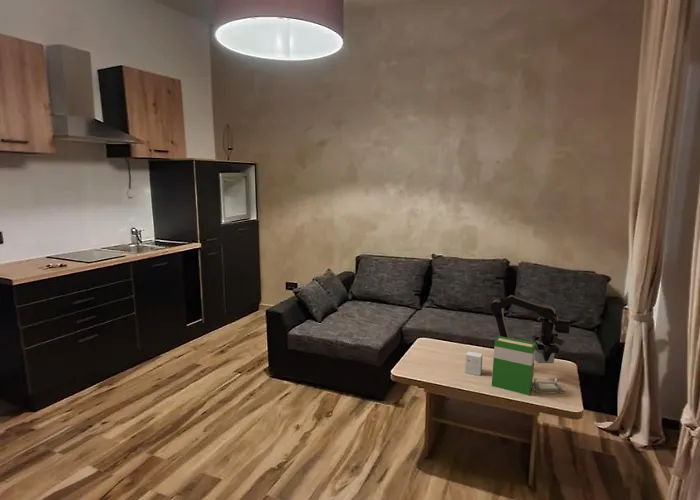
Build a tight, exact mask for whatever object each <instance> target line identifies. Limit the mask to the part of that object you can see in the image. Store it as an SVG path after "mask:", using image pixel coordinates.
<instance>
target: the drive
mask: <svg viewBox="0 0 700 500" xmlns="http://www.w3.org/2000/svg"><path fill="white" fill-rule="evenodd" d="M555 355H556V353H552V354H551V356H550V358H549V360H548V361H547V362H546V361H545V359H544V355H543V351H542V350H538V349H535V357H534V362H536V363H537V364H554V362H555Z"/></svg>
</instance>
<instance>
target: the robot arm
mask: <svg viewBox="0 0 700 500" xmlns="http://www.w3.org/2000/svg"><path fill="white" fill-rule="evenodd" d="M510 305H514V306H517V307H519V308H522V309H525V310H528V311H531V312H534V313H536V314H537V316H539V317H538V318H537V322H540V324H541V325H540V330H539V331H538V334H534V335H532V336H531V337H532V338H531V340H532V341H533V342H534V343H536V346H535V347H536V348H537V350H542V351H543V355H544V359H545V361H546V362H547V361H548V360H549V358H550V356H551V354H552V353H555V354H560V352H561V349H560V348H559V347H558V346H557V345H559V346H560V347H562V346H563V343H564V342H565V339H563V338H562V337H560V336H559V334H565V335H570V330H571V329H570V328H571V326H570V325H571V323H570V322H571V320H567V319H559V316H558V315H557V313H556V310H555V308H554V307H553V306H552V305H549V304H543V303H542V304H540V303H535V302H533V301H530V300H528V299H523V298H521V297H518V296H515V295H513V294H510V295H509V296H506V297H503V298H500V299H494V300H493V301H492V302H491V304H490V306H489V308H490V311H491V312H492V315H493V317H494V318H495V320H496V325H497V329H498V333H499V336H501V337H507V338H510V336H509V332H508V327H507V324H506V321H505V316H504V314H505V313H504V312H505V310H504V309H505V308H506V307H508V306H510ZM554 331H555V332H554ZM556 344H557V345H556Z"/></svg>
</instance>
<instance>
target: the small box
mask: <svg viewBox="0 0 700 500" xmlns="http://www.w3.org/2000/svg"><path fill="white" fill-rule="evenodd" d="M482 369H483V353H481V352H475V351H467V352H466V354H465V367H464V373H465V374H469V375H473V376H477V377H478V376H479V377H481V374H482Z"/></svg>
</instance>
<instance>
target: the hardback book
mask: <svg viewBox="0 0 700 500" xmlns="http://www.w3.org/2000/svg"><path fill="white" fill-rule="evenodd" d="M536 347H537V346H536V343H535V342H531V341H527V340H521V339H516V338H512V337H509V338H507V337H501V336H500V335H498V336H497V339H495V340H494V348H493V361H492V372H491V374H492V376H491V387H494V388H498V389H502V390H506V391H510V392H514V393H517V394H521V395H526V396H530V394H531V392H532V390H533V389H532V388H533V386H532V382H533V381H534V378H533V377H534V369H535V368H534V367H535V360H534V358H535V350H536Z"/></svg>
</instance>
